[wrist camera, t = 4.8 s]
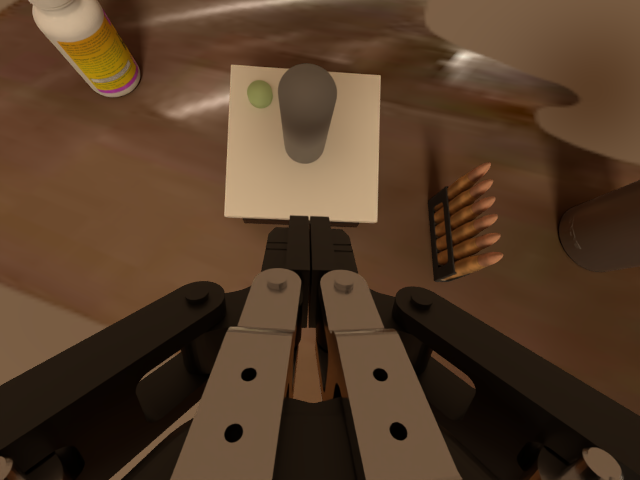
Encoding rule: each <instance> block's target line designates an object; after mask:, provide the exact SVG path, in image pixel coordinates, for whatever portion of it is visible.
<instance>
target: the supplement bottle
mask: <svg viewBox="0 0 640 480" xmlns="http://www.w3.org/2000/svg"><path fill="white" fill-rule="evenodd" d="M28 1H29V2H30V3H32V4H33V11H32V12H33V17H34V20H35V22H36V24H37V26H38V27H39V29H40V30H41V31H42V32H43V33H44V34H45V36H46V37H47V38H48V39H49V40H50V41H51V42H52V43H53V45H54V46H55V47H56V48H57V49H58V50H59V51H60V52H61V54H62V55H63V56H64V57H65V58H66V59H67V60H68V62H69V63H70V64H71V65H72V66H73V67H74V68H75V70H76V71H77V72H78V73H79V74H80V75H81V77H82V78H83V79H84V80H85V81H86V82H87V83H88V84H89V85H90V87H91V88H92V89H93V90H94V91H96V92H97V93H99V94H101V95H104V96H107V97H119V96H123V95H126V94H128V93H130V92H131V91H132V90H133V89H135V87H136V86H137V85H138V83H139V80H140V69H139V67H138V65H137V63H136V61H135V60H134V58H133V56H132V55H131V53H130V52H129V50H128V48H127V47H126V45H125V44H124V42H123V41H122V39H121V37H120V36H119V34H118V33H117V31H116V29H115V28H114V26H113V25H112V23H111V21H110V20H109V18H108V17H107V15H106V13H105V12H104V10H103V8H102V7H101V5H100V4H99V2H98V1H97V0H28Z"/></svg>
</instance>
